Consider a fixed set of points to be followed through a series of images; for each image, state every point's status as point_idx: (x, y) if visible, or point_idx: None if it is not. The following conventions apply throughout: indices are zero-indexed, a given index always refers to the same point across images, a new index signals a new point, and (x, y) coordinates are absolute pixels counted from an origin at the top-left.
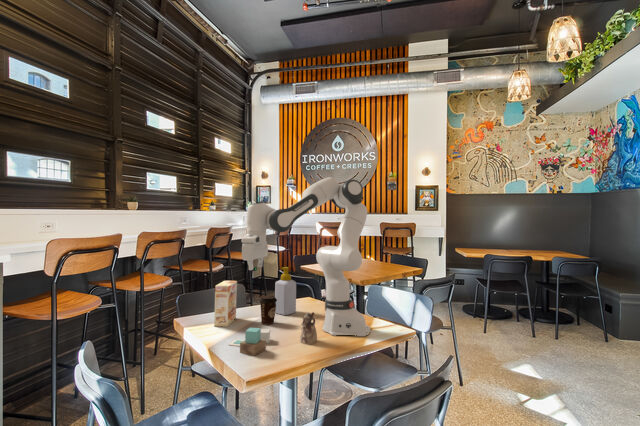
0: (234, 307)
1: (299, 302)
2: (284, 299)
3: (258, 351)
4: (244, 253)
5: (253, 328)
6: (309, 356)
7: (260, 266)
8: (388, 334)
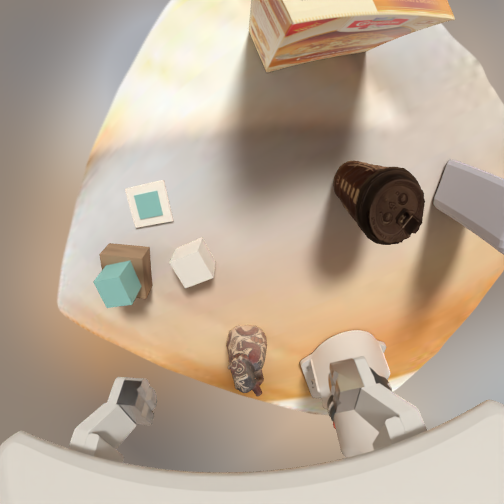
0: (358, 46)
1: None
2: (464, 217)
3: None
4: (7, 481)
5: (119, 289)
6: (175, 359)
7: (329, 386)
8: None
